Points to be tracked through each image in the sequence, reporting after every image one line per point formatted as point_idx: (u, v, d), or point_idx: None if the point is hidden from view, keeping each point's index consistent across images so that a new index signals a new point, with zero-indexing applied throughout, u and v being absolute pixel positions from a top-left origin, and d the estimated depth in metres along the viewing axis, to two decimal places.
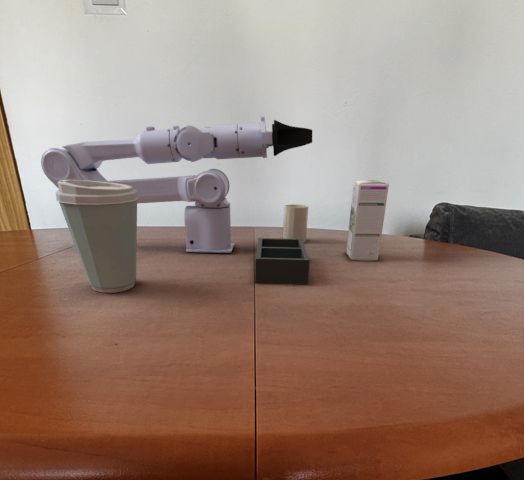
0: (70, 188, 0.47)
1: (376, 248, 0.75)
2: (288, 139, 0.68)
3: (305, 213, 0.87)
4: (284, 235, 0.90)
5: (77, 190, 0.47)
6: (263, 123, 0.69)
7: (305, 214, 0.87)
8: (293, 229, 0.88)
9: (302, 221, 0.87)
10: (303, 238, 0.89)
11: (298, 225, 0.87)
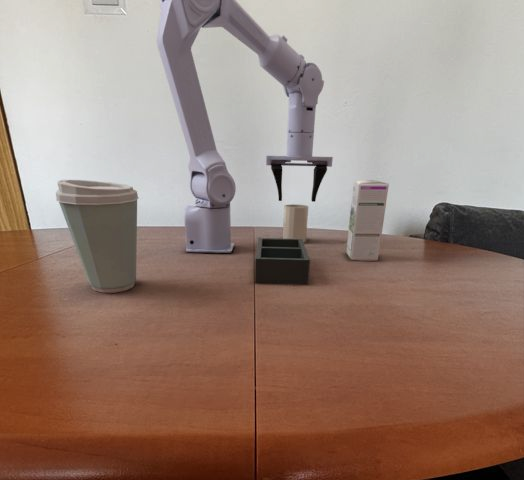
0: (70, 188, 0.47)
1: (376, 248, 0.75)
2: None
3: (305, 213, 0.87)
4: (284, 235, 0.90)
5: (77, 190, 0.47)
6: None
7: (305, 214, 0.87)
8: (293, 229, 0.88)
9: (302, 221, 0.87)
10: (303, 238, 0.89)
11: (298, 225, 0.87)
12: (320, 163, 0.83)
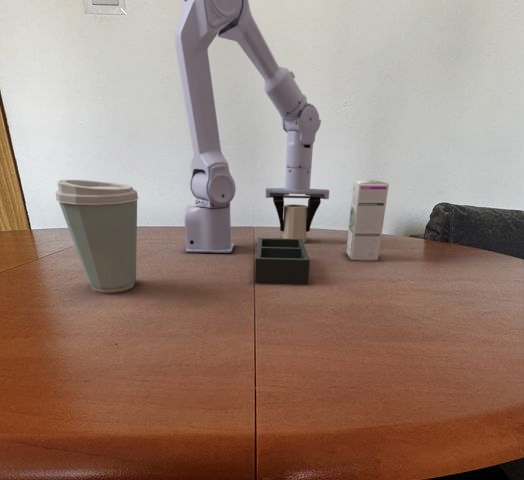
0: (70, 188, 0.47)
1: (376, 248, 0.75)
2: None
3: (305, 213, 0.87)
4: (284, 235, 0.90)
5: (77, 190, 0.47)
6: None
7: (305, 214, 0.87)
8: (293, 229, 0.88)
9: (302, 221, 0.87)
10: (303, 238, 0.89)
11: (298, 225, 0.87)
12: (317, 196, 0.86)
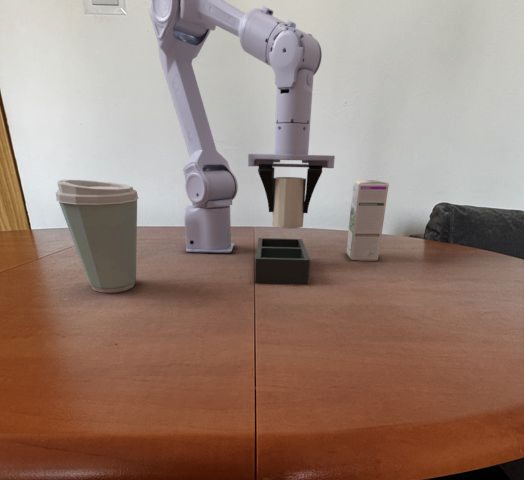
0: (70, 188, 0.47)
1: (376, 248, 0.75)
2: None
3: (301, 187, 0.64)
4: (273, 218, 0.68)
5: (77, 190, 0.47)
6: None
7: (301, 189, 0.64)
8: (284, 209, 0.65)
9: (296, 198, 0.64)
10: (298, 222, 0.67)
11: (292, 203, 0.65)
12: (318, 164, 0.64)
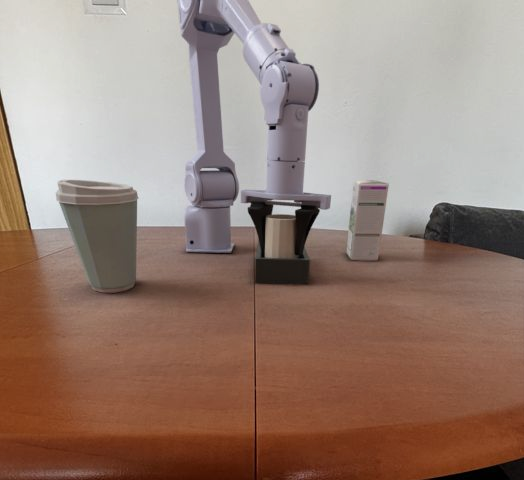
0: (70, 188, 0.47)
1: (376, 248, 0.75)
2: None
3: (290, 228, 0.59)
4: (265, 257, 0.63)
5: (77, 190, 0.47)
6: None
7: (290, 230, 0.59)
8: (272, 250, 0.61)
9: (284, 239, 0.59)
10: None
11: (279, 244, 0.60)
12: (312, 204, 0.57)
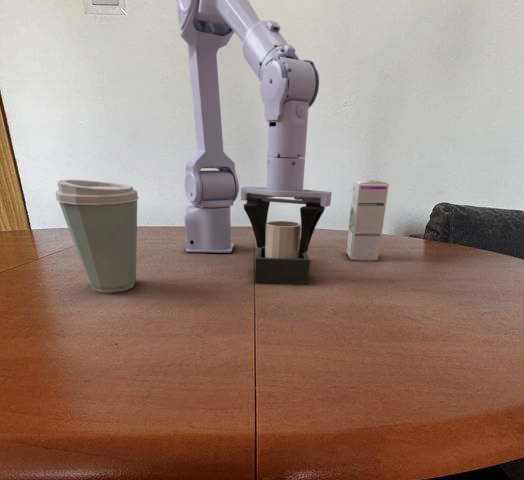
0: (70, 188, 0.47)
1: (376, 248, 0.75)
2: None
3: (290, 235, 0.59)
4: None
5: (77, 190, 0.47)
6: None
7: (290, 237, 0.59)
8: (272, 256, 0.61)
9: (284, 246, 0.60)
10: None
11: (279, 251, 0.60)
12: (312, 201, 0.57)
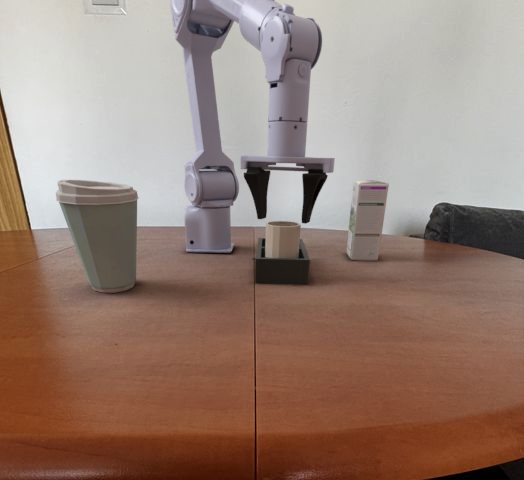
0: (70, 188, 0.47)
1: (376, 248, 0.75)
2: None
3: (290, 235, 0.59)
4: None
5: (77, 190, 0.47)
6: None
7: (290, 237, 0.59)
8: (272, 256, 0.61)
9: (284, 246, 0.60)
10: None
11: (279, 251, 0.60)
12: (315, 167, 0.55)
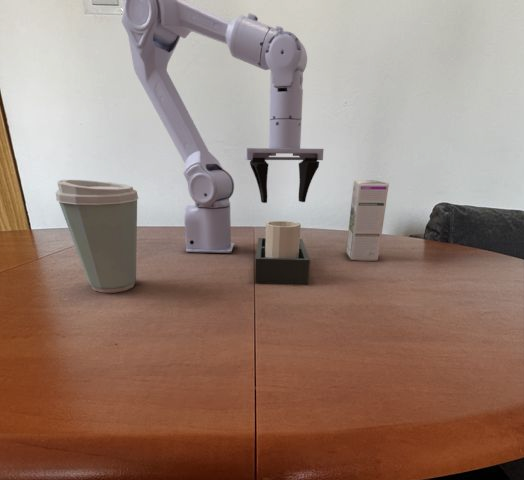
0: (70, 188, 0.47)
1: (376, 248, 0.75)
2: None
3: (290, 235, 0.59)
4: None
5: (77, 190, 0.47)
6: None
7: (290, 237, 0.59)
8: (272, 256, 0.61)
9: (284, 246, 0.60)
10: None
11: (279, 251, 0.60)
12: (309, 156, 0.70)
